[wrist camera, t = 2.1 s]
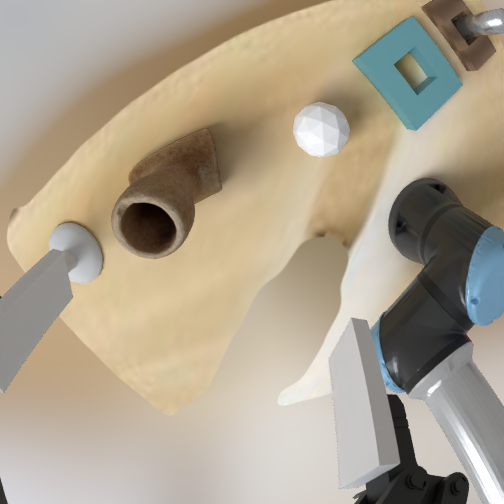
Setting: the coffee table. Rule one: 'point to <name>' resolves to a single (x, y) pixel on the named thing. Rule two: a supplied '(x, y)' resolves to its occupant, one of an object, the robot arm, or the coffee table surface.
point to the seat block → (393, 83)
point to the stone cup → (166, 196)
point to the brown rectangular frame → (470, 51)
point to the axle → (481, 24)
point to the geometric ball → (321, 129)
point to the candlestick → (78, 251)
